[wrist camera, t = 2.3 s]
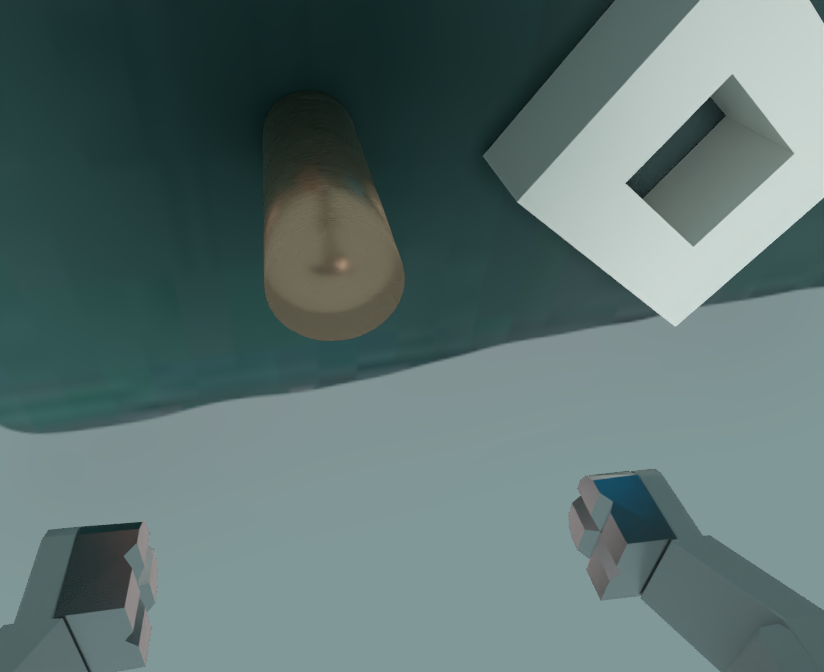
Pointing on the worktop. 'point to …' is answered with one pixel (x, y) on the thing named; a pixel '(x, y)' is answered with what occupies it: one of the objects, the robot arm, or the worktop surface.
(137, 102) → the worktop surface
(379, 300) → the wooden peg
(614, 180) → the fitting block
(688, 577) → the robot arm
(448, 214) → the worktop surface
